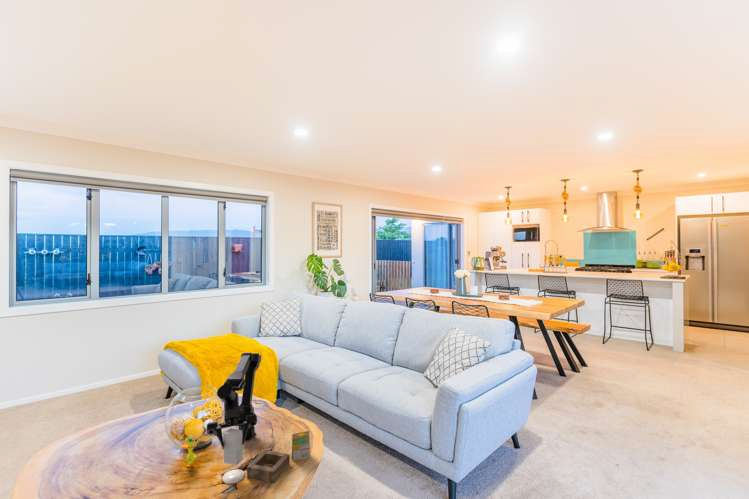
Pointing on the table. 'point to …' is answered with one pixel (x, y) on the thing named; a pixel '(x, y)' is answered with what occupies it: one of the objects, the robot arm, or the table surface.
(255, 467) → the walnut holder block
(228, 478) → the ceramic coaster
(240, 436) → the skincare box
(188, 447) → the toy figure
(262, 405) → the table surface
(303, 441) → the crayon box
